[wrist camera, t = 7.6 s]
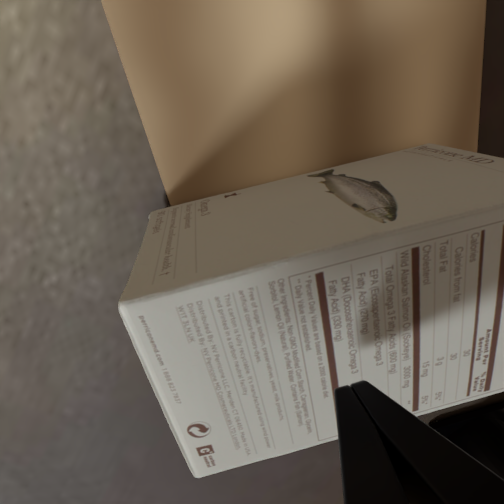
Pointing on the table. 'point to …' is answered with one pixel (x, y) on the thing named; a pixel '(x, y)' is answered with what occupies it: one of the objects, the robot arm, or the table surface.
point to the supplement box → (321, 300)
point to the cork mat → (296, 83)
